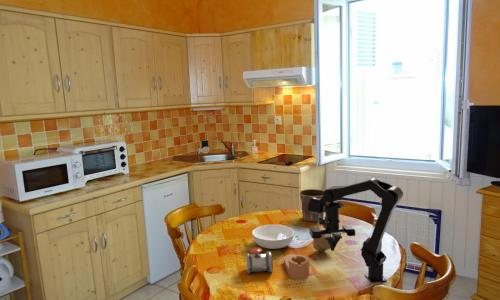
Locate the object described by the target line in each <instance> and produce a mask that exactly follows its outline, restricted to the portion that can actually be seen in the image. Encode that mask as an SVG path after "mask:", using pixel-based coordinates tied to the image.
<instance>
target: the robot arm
mask: <svg viewBox="0 0 500 300" xmlns="http://www.w3.org/2000/svg"><path fill="white" fill-rule="evenodd" d="M323 191H324V193H323V197H322V198H321V199H319V198H315V197H312V198H310V202H309V205H308V211H309V212H311V213H316V214H323V213H324V214H325V216H324V217H323V218H318V222H317V224H318V225H319V226H321V225H322V227H323V228H324V229H320V228H319V227H310V229H309V235H310V237H311V238H312V240H314V239H318V238H321V237H322V235H323V236H324V238H325V239H326V240H328V243H329V246H330V249H329V250H330V251H331V252H334V250H335V249H336V246H337V244H338V243H339V242H340V239H343V236H342V234H346V236H348V237H354V236H356V229H355V228H353V226H352V225H350V224H347V225H342V226H341V228H340V223H341V220H340V209H342V208H344V206H345V204H343V203H342V202H341V200H340V199H342V198H344V197H345V196H350V195H354V194H359V193H363V192H367V191H371V192H373V194H375V195H376V196H377V197H378V198H380V199H381V204H380V205H381V209H380V212H379V215H378V218H377V220H376V222H375V226H374V228H373V230H372V232H371V236H370V237H367V238H366V239H365V240H364V241H363V242H362V247H361V249H360V251H361V253H360V254H361V255H360V256H361V257H362V259H363V260H364V263H365V266H366V267H368V269H367V272H365V273H364V276H365V277H366V278H367V280H369V282H370V283H379V282H387V278H385V276H384V263H385V262H386V260H387V256H386V255H385V254H384V253H383V250H382V248H383V245H382V244H383V243H382V241H383V238H384V235H385V232H386V231H387V230H386V229H387V227H388V225H389V222H390V220H391V217H392V214H393V212H394V209H396V207H397V205H398V204H399V203H400V201H401V200H402V198H403V196H404V192H403V190H402V189H401V187H398V186H397V185H392V184H390V183H388V182H385V181H382V180H380V179H378V178H375V177H372V178H370V179H367V180H363V181H360V182H355V183H352V184H347V185H334V186H331V187H329V188H327V189H325V190H323ZM338 200H339V201H338ZM336 201H337V202H336Z"/></svg>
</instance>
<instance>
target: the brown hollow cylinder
mask: <svg viewBox="0 0 500 300" xmlns="http://www.w3.org/2000/svg"><path fill="white" fill-rule="evenodd" d="M309 263H310V260H309V258H308V257H307V256H305V255H303V254H293V253H291V254H286V255H285V256H284V257H283V264H284V267H285V269H286V273H287V274H288V276H289V278H291V279H293V280H305V279H307V278H309V275H310V269H309V268H310V265H309Z"/></svg>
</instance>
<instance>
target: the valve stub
mask: <svg viewBox="0 0 500 300" xmlns="http://www.w3.org/2000/svg"><path fill="white" fill-rule="evenodd" d="M262 252H263V249H262V247H252V248H250V253H251V254H250V253H245V254H246V255H245V256H246V259H245V260H246V261H245V262H246V272H247V274H251V273H254V272H255V273H256V272H267V273H273V271H274V269H273V268H274V266H273V254H272V252H271V250H270V251H266V253H262Z"/></svg>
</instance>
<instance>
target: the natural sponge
mask: <svg viewBox="0 0 500 300" xmlns="http://www.w3.org/2000/svg"><path fill="white" fill-rule="evenodd" d="M312 240H313V242H312V246H313V249H314V250H315V251H318V252H320V253H323V252H326V251H327V250H331V249H330V246H329V243H328V240H326V239H325V238H324V236H323V235H322V237H321V238H318V239H312Z"/></svg>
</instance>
